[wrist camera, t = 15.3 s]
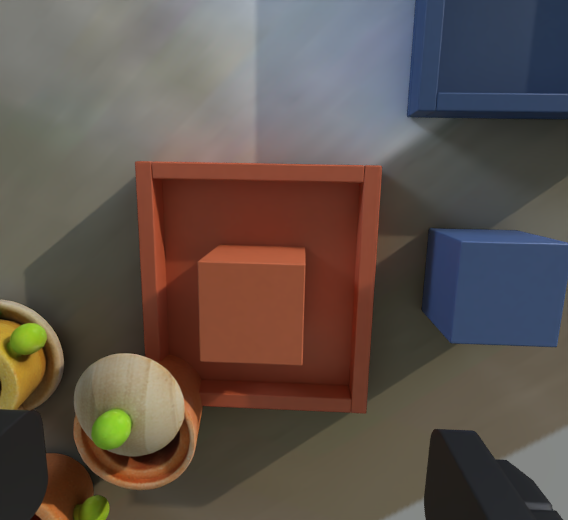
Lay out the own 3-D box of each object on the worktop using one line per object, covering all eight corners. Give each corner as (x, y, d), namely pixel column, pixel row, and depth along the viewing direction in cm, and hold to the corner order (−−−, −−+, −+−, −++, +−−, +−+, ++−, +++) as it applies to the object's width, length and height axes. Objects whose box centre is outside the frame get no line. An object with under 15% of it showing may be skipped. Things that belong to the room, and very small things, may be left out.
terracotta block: (220, 325, 22) (199, 362, 18) (219, 244, 21) (197, 261, 17) (302, 328, 22) (302, 366, 18) (305, 246, 21) (305, 264, 17)
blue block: (421, 311, 22) (450, 343, 18) (428, 228, 21) (461, 241, 17) (506, 313, 22) (557, 347, 17) (517, 230, 21) (574, 243, 17)
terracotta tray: (160, 385, 24) (147, 404, 22) (150, 162, 21) (134, 161, 19) (361, 394, 23) (366, 413, 21) (374, 166, 21) (382, 165, 19)
